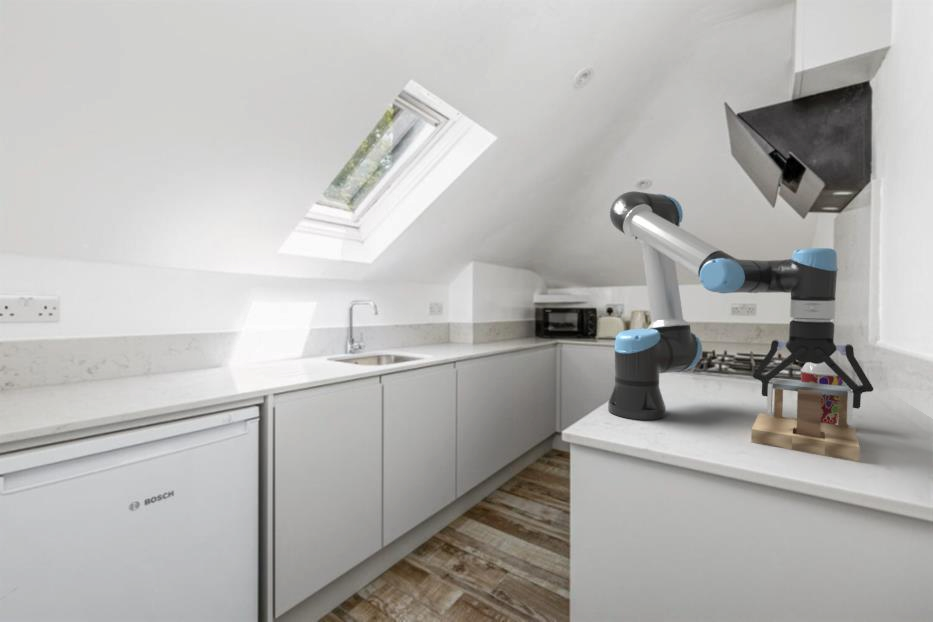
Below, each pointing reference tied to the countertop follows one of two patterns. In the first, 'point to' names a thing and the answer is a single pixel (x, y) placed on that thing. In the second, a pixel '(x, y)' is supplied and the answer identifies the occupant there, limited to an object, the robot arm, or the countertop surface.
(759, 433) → the socket board
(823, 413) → the smoothie
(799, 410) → the peg
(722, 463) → the countertop surface
